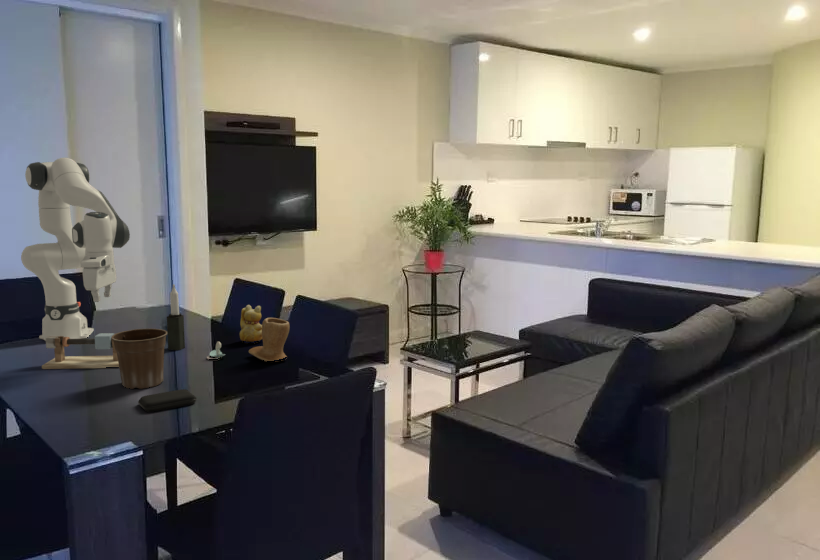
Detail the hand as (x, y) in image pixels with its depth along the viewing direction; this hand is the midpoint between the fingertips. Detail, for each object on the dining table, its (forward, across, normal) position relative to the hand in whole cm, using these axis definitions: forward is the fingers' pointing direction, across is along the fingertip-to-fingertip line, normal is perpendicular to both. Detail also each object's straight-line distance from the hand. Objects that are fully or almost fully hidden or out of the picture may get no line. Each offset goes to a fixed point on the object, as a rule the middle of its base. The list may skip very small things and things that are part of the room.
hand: (102, 299), depth 228 cm
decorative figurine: (+23, -28, +46) cm, 59 cm away
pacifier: (+23, -5, +37) cm, 44 cm away
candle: (+23, -20, +19) cm, 36 cm away
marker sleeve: (+17, 0, 0) cm, 17 cm away
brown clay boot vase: (+23, -3, +57) cm, 62 cm away
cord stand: (+23, 0, -6) cm, 24 cm away
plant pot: (+23, +25, +20) cm, 39 cm away
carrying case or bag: (+24, +45, +33) cm, 61 cm away
